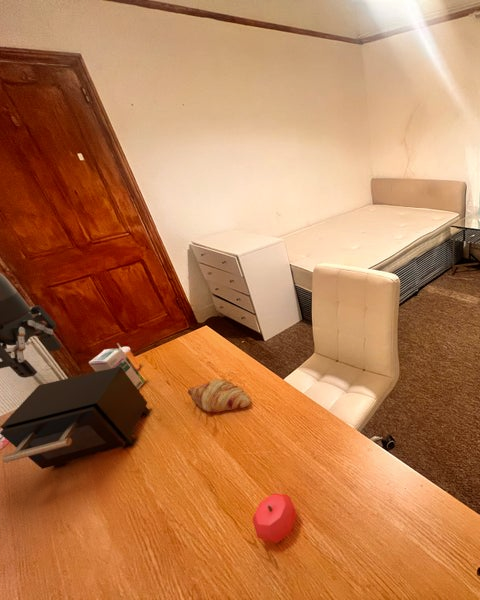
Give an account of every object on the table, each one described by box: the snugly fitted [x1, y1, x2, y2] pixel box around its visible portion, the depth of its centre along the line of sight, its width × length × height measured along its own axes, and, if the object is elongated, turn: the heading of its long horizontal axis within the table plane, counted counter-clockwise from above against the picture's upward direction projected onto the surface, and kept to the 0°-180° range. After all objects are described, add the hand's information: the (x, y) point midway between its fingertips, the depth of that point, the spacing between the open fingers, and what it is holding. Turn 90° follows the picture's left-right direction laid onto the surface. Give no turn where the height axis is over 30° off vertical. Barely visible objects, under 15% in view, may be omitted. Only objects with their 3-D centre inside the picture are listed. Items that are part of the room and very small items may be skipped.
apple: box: [252, 493, 297, 544], centre depth 60 cm, size 8×8×8 cm
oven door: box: [0, 406, 126, 470], centre depth 70 cm, size 8×17×14 cm, turn 108°
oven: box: [0, 366, 150, 468], centre depth 79 cm, size 13×18×17 cm
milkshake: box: [116, 342, 141, 371], centre depth 104 cm, size 4×5×10 cm
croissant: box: [187, 378, 251, 413], centre depth 90 cm, size 21×10×8 cm, turn 77°
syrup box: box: [88, 348, 146, 390], centre depth 95 cm, size 6×6×14 cm
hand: (43, 362), depth 66 cm, fingers open, 8 cm apart
